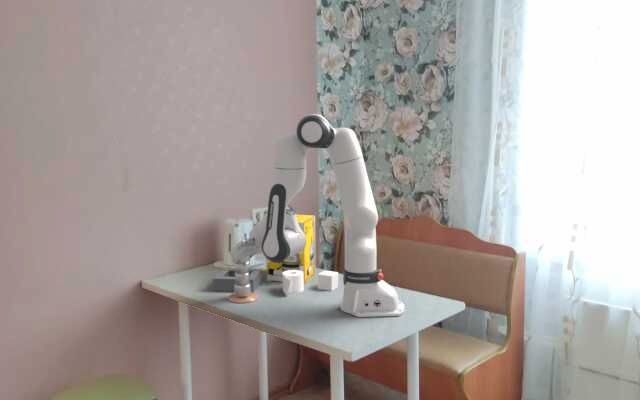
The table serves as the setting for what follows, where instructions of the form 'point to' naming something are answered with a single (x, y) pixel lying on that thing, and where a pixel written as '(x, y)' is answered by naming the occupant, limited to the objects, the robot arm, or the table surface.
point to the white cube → (328, 280)
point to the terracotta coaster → (243, 298)
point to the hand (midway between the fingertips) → (240, 260)
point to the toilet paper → (292, 281)
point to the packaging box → (298, 254)
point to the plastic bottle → (242, 277)
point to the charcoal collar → (227, 279)
